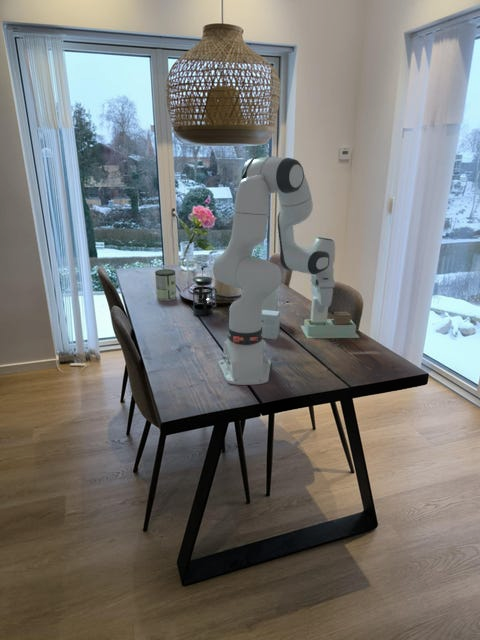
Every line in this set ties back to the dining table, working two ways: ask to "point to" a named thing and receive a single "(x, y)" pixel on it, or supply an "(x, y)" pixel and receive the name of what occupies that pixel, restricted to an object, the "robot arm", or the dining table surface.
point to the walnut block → (342, 318)
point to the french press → (203, 296)
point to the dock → (328, 329)
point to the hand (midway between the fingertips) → (319, 310)
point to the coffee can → (165, 284)
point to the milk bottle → (271, 302)
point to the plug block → (315, 313)
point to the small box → (270, 324)
